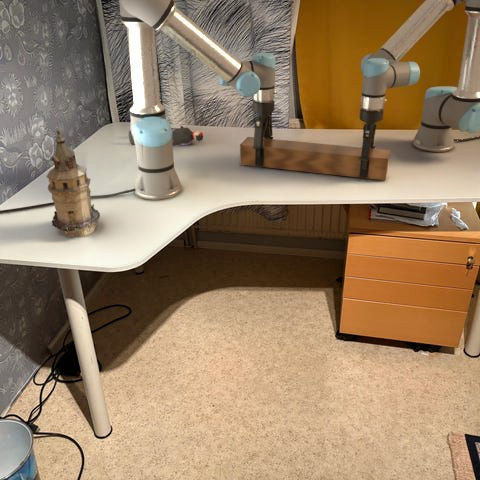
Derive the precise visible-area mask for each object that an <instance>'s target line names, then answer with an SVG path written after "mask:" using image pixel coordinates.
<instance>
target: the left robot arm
mask: <svg viewBox="0 0 480 480" xmlns="http://www.w3.org/2000/svg"><path fill="white" fill-rule="evenodd" d="M118 2H119V3H118V4H119V5H118V6H119V14H120V22H121V23H122V24H123V25H124V26H125V27H126V33H127V44H128V55H129V65H130V75H131V77H130V78H131V86H132V87H131V88H132V89H131V90H132V96H133V97H132V98H133V104H132V105H131V107H130V108H129V117H130V125H129V128H130V131H131V133H132V136H133V139H134V142H135V143H134V146H135V154H136V161H137V175H136V179H135V184H134V188H132V189H126V190H122V191H119V192H118V191H117V192H115V193H110V194H109V193H108V194H97V195H90V197H91V199H101V198H103V199H104V198H111V197H116V196H117V197H118V196H120V195H123V194H128V193H132V192H133V193H135V195H136V196H137V197H138V198H141V199H143V200H148V201H161V200H168V199H171V198H174V197H176V196H178V195H179V194H180V193H181V192H182V183H181V180H180V177H179V176H178V173H177V171H176V169H175V161H174V160H175V159H174V158H175V157H174V146H172V129H171V128H172V126H171V123H170V122H169V120H167V119H166V117H167V116H166V107H165V106H164V105H163V104H162V103H161V98H160V96H161V95H160V85H159V83H160V82H159V70H158V69H159V68H158V55H157V40H156V31H162V32H163V33H165V34H166V35H167V36H168V37H169V38H170V39H172V40H173V41H174V42H175V43H177V44H178V45H180V47H182V48H183V49H184V50H185V51H187V52H188V53H189V54H190V55H192V57H194V58H196V59H197V60H198V61H199V62H200V63H202V64H203V65H205V66H206V67H207V68H208V69H209V70H211V71H212V72H213V73H214V74H216V75H217V79H218V84H219V85H220V86H223V87H232V88H233V90H235V91H237V93H238V94H239V95H241V96H243V97H246V98H250V97H252V99H253V101H252V111H253V112H254V113H255V114H257V116H256V119H255V120H254V134H253V137H254V146H253V149H255V166H254V167H260V166H263V140H264V138H266V139H274V135H273V113H274V111H275V103H276V102H275V95H276V94H277V91H276V90H275V89H276V69H277V67H276V57H275V54H273V53H270V52H258V53H254V54H253V56H252V59H251V60H242V61H240V60H239V59H238V58H237V57H236V56H235V55H233V54H232V53H231V52H230V51H228V50H227V49H226V48H225V47H224V46H223V45H221V44H220V43H219V42H218V41H217V40H215V39H214V38H213V37H212V36H211V35H210V34H208V33H207V32H206V31H205V30H204V29H203V28H201V26H199V25H198V24H196V23H195V22H194V21H193V20H192V19H191V18H190V17H188V16H187V15H186V14H185V13H184V12H182V11H181V10H180V9H179V8H178V7H177V4H176V1H175V0H118ZM257 145H258V146H257ZM49 206H55V205H54V201H53V202H47V203H41V204H40V203H39V204H33V205H27V206H22V207H15V208H8V209H2V210H0V214H4V213H11V212H19V211H24V210H30V209H37V208H42V207H49Z"/></svg>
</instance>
